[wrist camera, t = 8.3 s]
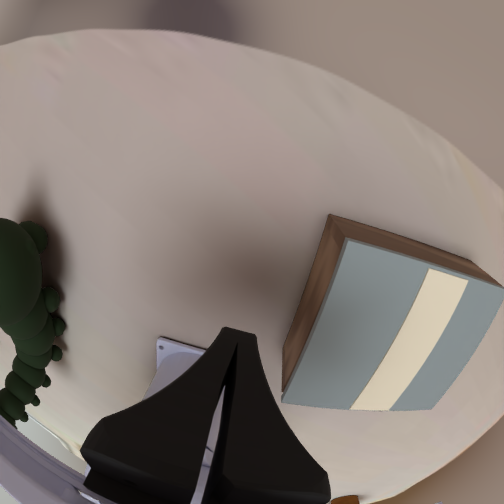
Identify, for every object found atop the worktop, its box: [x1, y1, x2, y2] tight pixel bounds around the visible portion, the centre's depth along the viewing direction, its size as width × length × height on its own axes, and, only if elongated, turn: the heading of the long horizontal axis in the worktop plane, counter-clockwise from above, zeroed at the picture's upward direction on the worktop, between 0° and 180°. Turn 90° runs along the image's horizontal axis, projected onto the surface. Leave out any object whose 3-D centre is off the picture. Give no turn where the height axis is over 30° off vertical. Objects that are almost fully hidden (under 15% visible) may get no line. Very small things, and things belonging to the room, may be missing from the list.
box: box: [282, 214, 502, 392], centre depth 18 cm, size 12×14×5 cm
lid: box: [281, 237, 504, 411], centre depth 15 cm, size 12×14×1 cm
